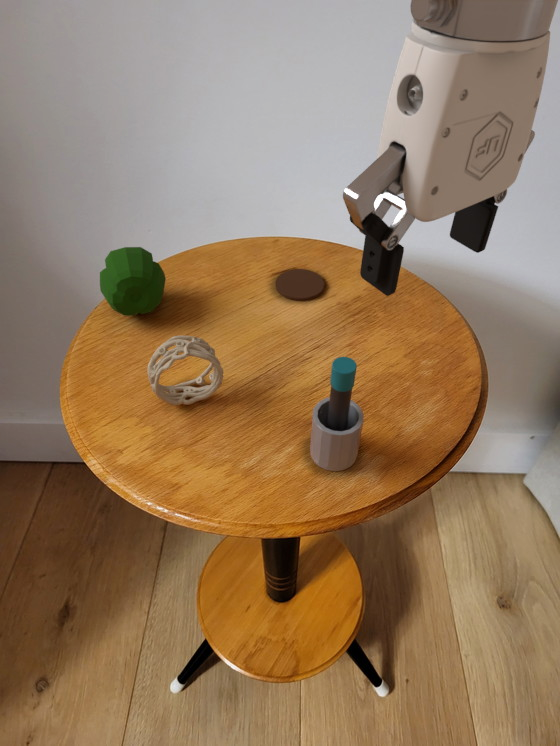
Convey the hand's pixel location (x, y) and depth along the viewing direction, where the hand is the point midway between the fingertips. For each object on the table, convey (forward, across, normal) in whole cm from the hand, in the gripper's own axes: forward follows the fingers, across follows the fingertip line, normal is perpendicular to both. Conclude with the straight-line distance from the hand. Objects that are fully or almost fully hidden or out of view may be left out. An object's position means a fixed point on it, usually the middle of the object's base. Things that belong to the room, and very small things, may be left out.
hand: (423, 263), depth 44 cm
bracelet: (+24, -13, +19) cm, 33 cm away
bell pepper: (+19, -12, +33) cm, 40 cm away
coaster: (+24, +11, +28) cm, 38 cm away
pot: (+24, -4, +3) cm, 24 cm away
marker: (+23, -4, +3) cm, 24 cm away
